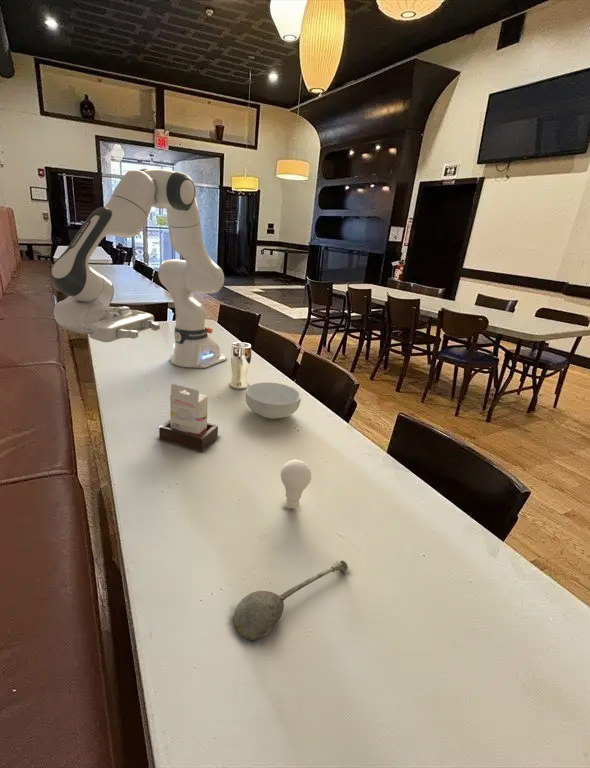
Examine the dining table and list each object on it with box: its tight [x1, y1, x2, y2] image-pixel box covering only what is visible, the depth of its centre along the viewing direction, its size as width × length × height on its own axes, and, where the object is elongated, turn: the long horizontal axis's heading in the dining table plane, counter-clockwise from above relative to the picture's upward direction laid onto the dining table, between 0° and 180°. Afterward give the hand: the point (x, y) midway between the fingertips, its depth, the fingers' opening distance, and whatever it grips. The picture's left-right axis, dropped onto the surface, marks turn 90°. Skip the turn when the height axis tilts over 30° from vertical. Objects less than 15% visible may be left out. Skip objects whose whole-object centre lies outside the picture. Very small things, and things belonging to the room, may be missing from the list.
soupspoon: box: [233, 560, 349, 640], centre depth 65 cm, size 22×3×7 cm
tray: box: [158, 419, 219, 453], centre depth 108 cm, size 9×13×4 cm
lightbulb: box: [280, 459, 312, 510], centre depth 84 cm, size 6×6×11 cm
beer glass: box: [230, 341, 252, 390], centre depth 143 cm, size 7×7×15 cm
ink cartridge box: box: [169, 383, 209, 437], centre depth 106 cm, size 9×5×15 cm, turn 67°
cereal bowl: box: [245, 381, 302, 420], centre depth 126 cm, size 17×17×7 cm
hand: (147, 331), depth 109 cm, fingers open, 8 cm apart
